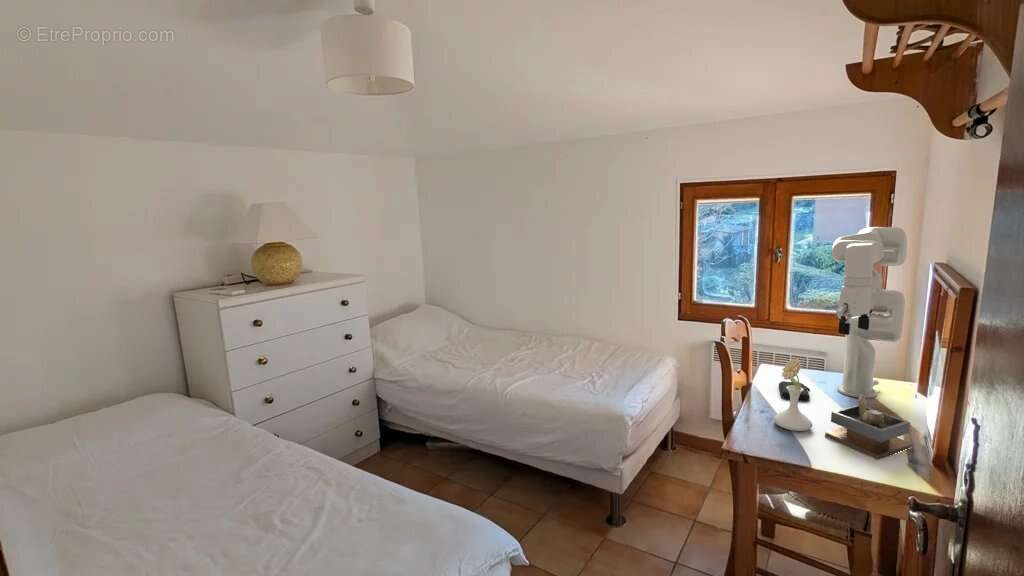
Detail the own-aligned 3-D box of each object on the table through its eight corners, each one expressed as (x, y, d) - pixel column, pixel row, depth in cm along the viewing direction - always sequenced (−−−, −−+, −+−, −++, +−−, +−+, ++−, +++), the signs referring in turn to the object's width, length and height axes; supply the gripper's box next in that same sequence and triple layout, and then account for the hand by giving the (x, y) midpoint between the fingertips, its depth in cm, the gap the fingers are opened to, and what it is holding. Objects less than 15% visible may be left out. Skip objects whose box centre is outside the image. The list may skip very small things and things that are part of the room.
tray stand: (858, 426, 159) (860, 402, 158) (912, 448, 145) (915, 422, 143) (825, 436, 154) (826, 411, 152) (877, 459, 139) (880, 432, 138)
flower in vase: (773, 417, 169) (777, 349, 165) (811, 422, 164) (815, 353, 159) (773, 432, 158) (777, 360, 153) (813, 439, 152) (819, 365, 148)
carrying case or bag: (813, 403, 179) (808, 389, 192) (814, 396, 179) (808, 382, 192) (781, 399, 184) (778, 386, 197) (781, 392, 183) (778, 379, 196)
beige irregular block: (890, 427, 142) (870, 396, 144) (866, 434, 146) (847, 403, 148) (887, 418, 149) (868, 389, 151) (864, 424, 153) (847, 396, 155)
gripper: (862, 276, 162) (858, 324, 166) (828, 283, 156) (825, 333, 160) (886, 279, 156) (882, 329, 159) (851, 286, 149) (847, 338, 153)
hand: (853, 331), depth 159 cm, fingers open, 9 cm apart
